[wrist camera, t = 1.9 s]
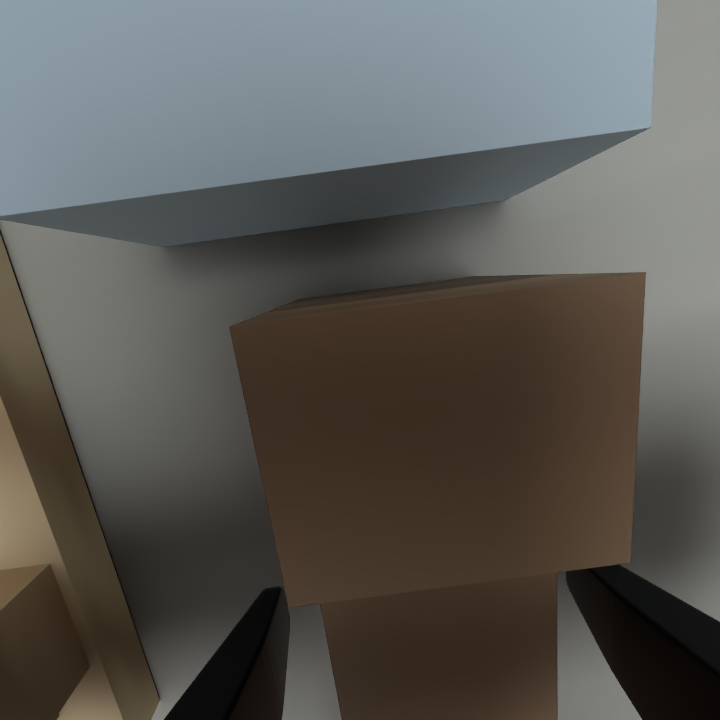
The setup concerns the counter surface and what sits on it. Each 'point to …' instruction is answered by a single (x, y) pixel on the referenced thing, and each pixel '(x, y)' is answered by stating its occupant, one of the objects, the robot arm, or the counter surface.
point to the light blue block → (304, 108)
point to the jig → (55, 557)
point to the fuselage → (447, 476)
